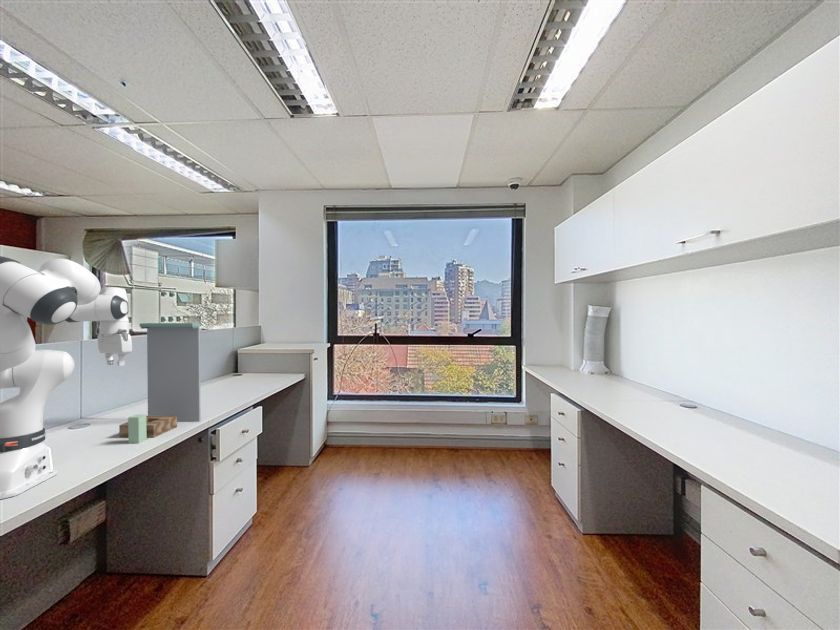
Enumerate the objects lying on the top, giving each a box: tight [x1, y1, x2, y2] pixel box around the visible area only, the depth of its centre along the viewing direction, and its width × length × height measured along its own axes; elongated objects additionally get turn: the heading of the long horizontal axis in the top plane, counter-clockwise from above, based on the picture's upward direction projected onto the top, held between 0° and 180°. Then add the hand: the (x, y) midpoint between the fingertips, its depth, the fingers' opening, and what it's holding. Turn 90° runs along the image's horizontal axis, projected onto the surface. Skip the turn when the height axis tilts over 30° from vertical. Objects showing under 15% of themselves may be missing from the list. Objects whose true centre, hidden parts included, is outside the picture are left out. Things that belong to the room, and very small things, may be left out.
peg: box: [127, 414, 147, 444], centre depth 146 cm, size 4×4×10 cm
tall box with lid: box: [139, 322, 202, 423], centre depth 171 cm, size 6×24×46 cm, turn 89°
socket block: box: [118, 415, 178, 439], centre depth 158 cm, size 14×14×5 cm
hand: (115, 365), depth 144 cm, fingers open, 8 cm apart
